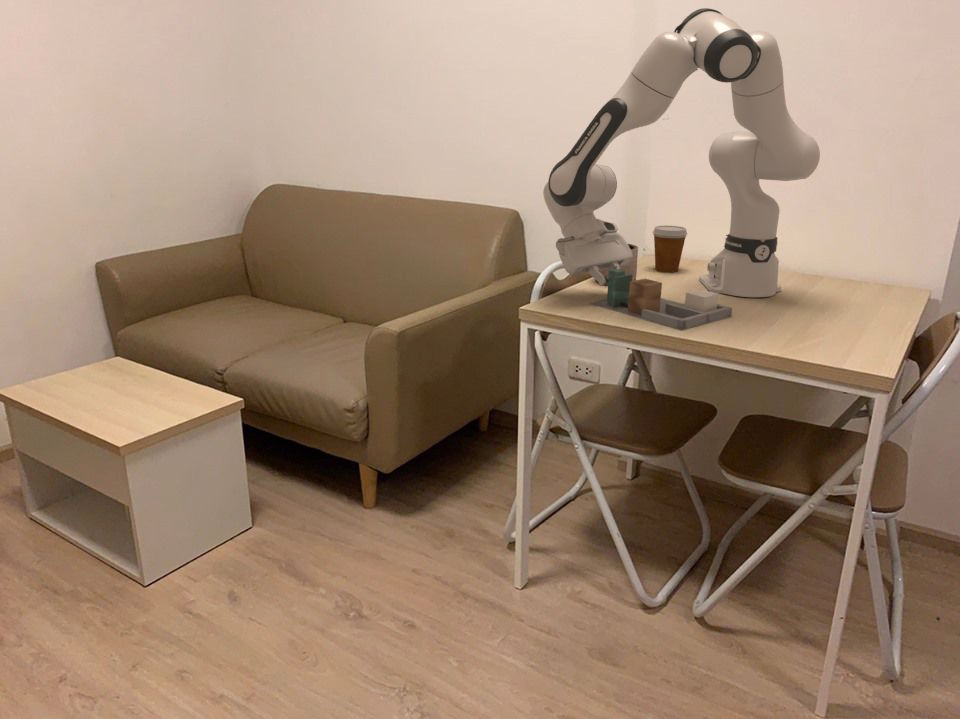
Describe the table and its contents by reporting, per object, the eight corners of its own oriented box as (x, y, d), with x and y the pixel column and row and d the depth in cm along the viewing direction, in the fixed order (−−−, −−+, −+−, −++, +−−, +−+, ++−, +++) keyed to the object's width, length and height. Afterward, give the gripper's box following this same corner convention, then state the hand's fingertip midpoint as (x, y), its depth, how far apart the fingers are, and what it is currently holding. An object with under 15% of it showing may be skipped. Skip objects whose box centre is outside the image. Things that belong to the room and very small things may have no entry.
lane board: (588, 305, 182) (589, 295, 181) (638, 294, 192) (639, 284, 191) (681, 332, 162) (682, 321, 161) (731, 318, 172) (732, 307, 171)
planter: (598, 286, 199) (600, 250, 196) (591, 277, 210) (593, 242, 206) (639, 286, 200) (642, 250, 196) (631, 277, 210) (633, 242, 207)
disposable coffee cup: (687, 274, 214) (692, 231, 210) (653, 273, 214) (657, 230, 210) (678, 266, 223) (682, 225, 219) (646, 266, 223) (649, 225, 219)
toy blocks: (602, 304, 181) (604, 270, 178) (619, 300, 184) (621, 267, 181) (643, 316, 171) (646, 281, 168) (660, 312, 174) (663, 278, 172)
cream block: (683, 314, 173) (686, 292, 172) (697, 310, 176) (699, 289, 175) (702, 319, 170) (704, 297, 168) (716, 315, 172) (718, 293, 171)
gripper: (559, 231, 176) (588, 281, 172) (620, 223, 188) (648, 269, 184) (545, 247, 181) (573, 296, 177) (605, 238, 193) (632, 284, 189)
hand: (611, 282), depth 181 cm, fingers open, 3 cm apart
